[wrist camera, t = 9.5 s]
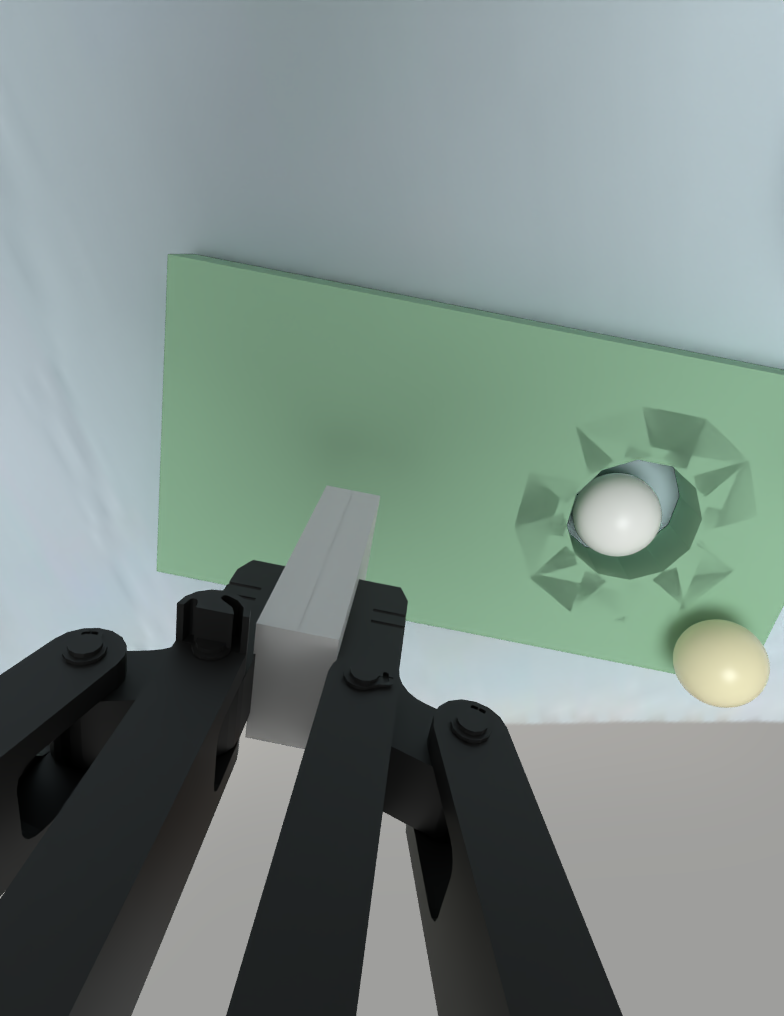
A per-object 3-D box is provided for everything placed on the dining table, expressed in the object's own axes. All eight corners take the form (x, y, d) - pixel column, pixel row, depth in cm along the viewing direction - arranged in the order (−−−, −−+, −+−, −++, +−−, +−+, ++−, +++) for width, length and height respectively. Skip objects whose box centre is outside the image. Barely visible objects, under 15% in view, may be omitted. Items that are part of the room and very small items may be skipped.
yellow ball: (678, 596, 26) (710, 644, 22) (759, 612, 26) (803, 662, 22) (649, 662, 27) (677, 717, 24) (727, 678, 27) (764, 734, 24)
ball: (584, 479, 23) (678, 501, 23) (586, 454, 26) (669, 473, 26) (561, 557, 25) (648, 581, 24) (565, 525, 28) (643, 545, 27)
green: (179, 546, 29) (156, 571, 27) (193, 254, 24) (167, 254, 22) (719, 653, 29) (742, 687, 27) (846, 382, 24) (888, 395, 22)
